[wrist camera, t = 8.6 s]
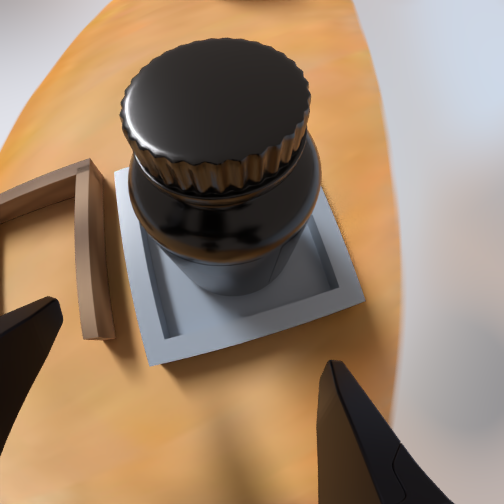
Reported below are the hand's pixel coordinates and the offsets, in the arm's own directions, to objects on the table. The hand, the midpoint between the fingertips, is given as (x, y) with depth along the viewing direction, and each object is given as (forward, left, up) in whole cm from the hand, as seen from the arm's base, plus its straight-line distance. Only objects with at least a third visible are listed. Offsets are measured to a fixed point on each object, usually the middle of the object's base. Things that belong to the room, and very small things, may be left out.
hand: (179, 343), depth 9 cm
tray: (+5, -3, -9) cm, 11 cm away
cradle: (+7, +11, -9) cm, 16 cm away
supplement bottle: (+5, -3, -8) cm, 10 cm away
